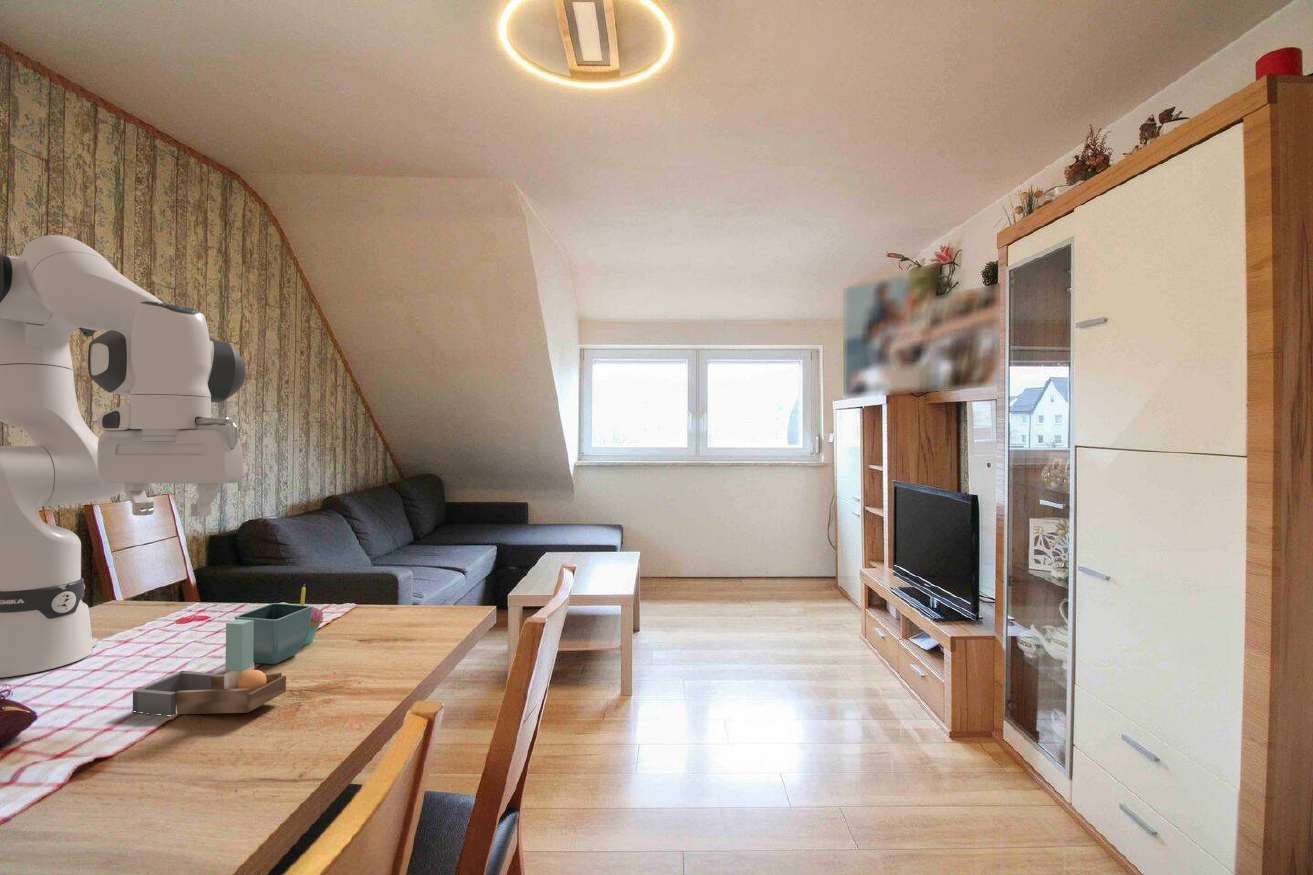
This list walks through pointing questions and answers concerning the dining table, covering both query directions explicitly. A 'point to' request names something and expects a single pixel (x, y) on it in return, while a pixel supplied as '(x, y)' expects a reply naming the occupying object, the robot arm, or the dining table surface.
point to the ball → (252, 680)
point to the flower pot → (278, 631)
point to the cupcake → (312, 619)
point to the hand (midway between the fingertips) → (171, 515)
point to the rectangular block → (238, 651)
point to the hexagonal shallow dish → (229, 696)
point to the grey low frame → (168, 692)
